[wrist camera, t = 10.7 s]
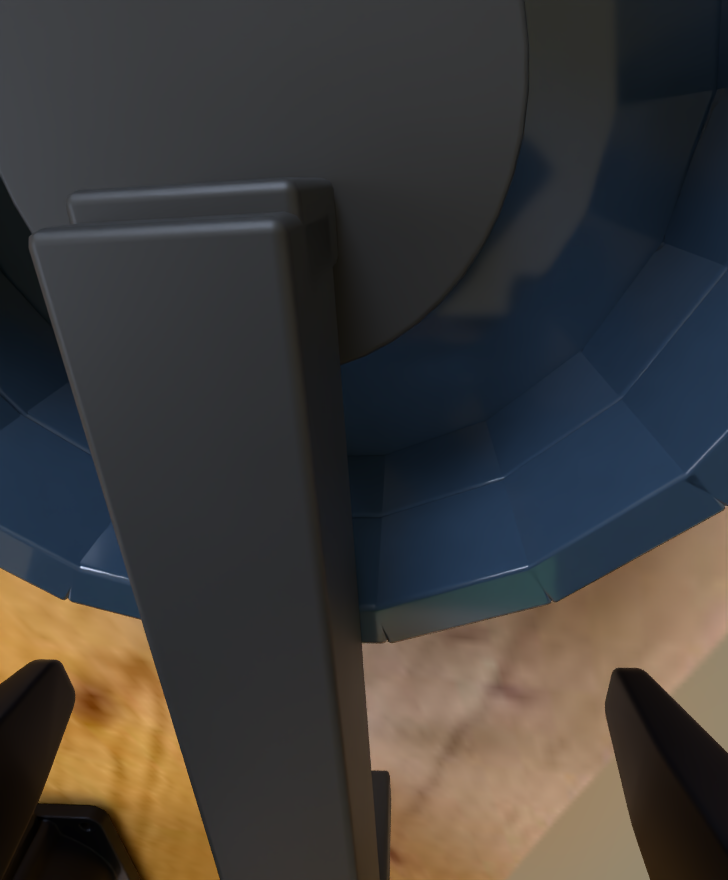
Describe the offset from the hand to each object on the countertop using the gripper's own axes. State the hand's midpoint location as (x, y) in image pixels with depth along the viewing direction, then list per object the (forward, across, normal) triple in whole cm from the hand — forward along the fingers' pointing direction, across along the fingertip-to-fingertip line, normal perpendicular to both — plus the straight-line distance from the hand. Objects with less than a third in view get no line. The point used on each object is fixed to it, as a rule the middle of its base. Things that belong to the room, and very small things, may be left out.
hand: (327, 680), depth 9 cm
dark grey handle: (+3, 0, -1) cm, 3 cm away
